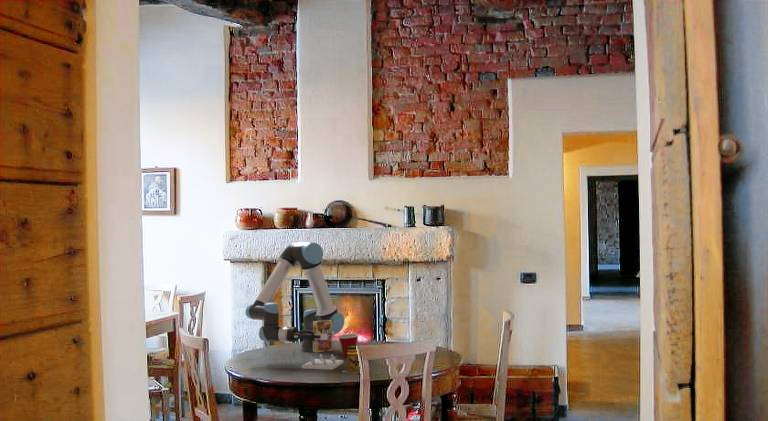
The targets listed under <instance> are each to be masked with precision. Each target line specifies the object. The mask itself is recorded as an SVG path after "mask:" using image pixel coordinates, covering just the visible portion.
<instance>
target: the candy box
mask: <svg viewBox="0 0 768 421" xmlns="http://www.w3.org/2000/svg"><path fill="white" fill-rule="evenodd" d="M313 334H314V335H315V334H327V337H328V340H317V339H315V338H314V341H313V352H312V353H316V354H317V353H323V352H331V351H332V340H333V339H332V338H333V337H332V321H331V320H322V321H313Z"/></svg>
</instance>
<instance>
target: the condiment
mask: <svg viewBox="0 0 768 421" xmlns="http://www.w3.org/2000/svg"><path fill="white" fill-rule="evenodd" d="M356 346H357V345H356ZM356 346H348V352H347V358H346V359H347V360H346V366H347V369H345V370H343V371H341V373H348V374H358V373H361V372H360V370H361V368H360V369H359V361H358V355H357V351H356Z"/></svg>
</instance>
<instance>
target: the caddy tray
mask: <svg viewBox="0 0 768 421" xmlns="http://www.w3.org/2000/svg"><path fill="white" fill-rule="evenodd" d="M313 356H314V355H310V361H308V362H306V363H304V364H302V365H301V369H308V370H309V369H310V370H334V369H336V368H338V367H339V366H341V365H343V364H344V360H343V359H336V356H334V354H330V359H327V358H323V353H320V354H319V358H314V357H313Z"/></svg>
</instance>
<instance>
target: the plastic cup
mask: <svg viewBox="0 0 768 421" xmlns="http://www.w3.org/2000/svg"><path fill="white" fill-rule="evenodd" d="M358 336H359V334H358V333H346V334H345V333H344V334H341V335H338V337H337V338H338V339H339V341H340V345H341V347H340V348H341V351H342V357H343V358H344V359H347V352H348V346H357V342H358Z"/></svg>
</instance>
